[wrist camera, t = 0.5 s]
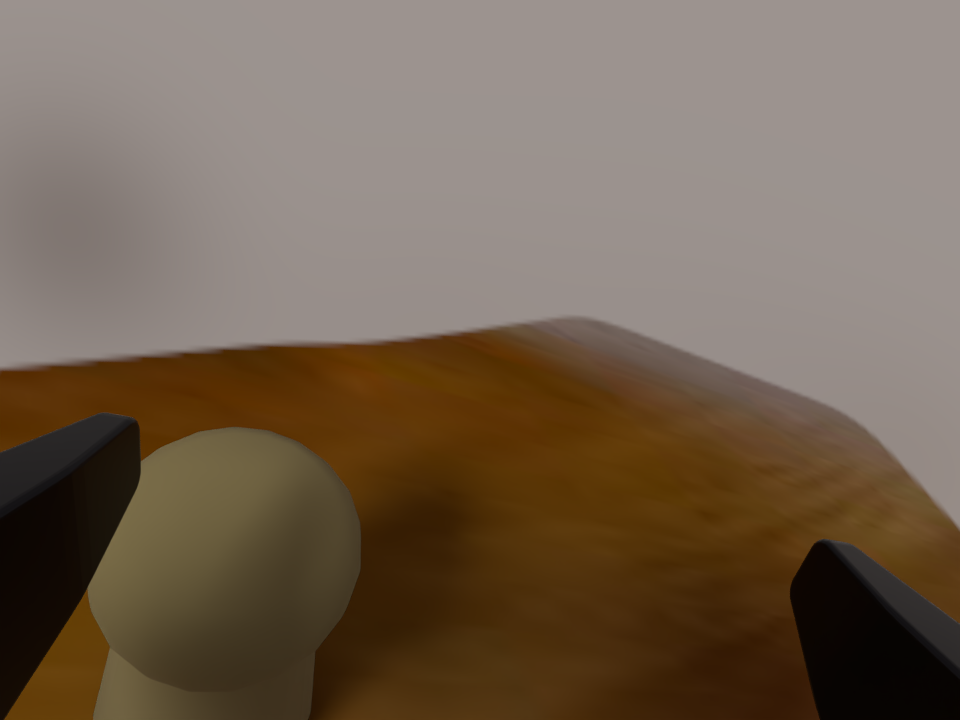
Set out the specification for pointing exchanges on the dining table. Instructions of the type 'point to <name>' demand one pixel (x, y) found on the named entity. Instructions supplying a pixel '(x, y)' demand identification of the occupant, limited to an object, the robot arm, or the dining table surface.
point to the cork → (224, 580)
